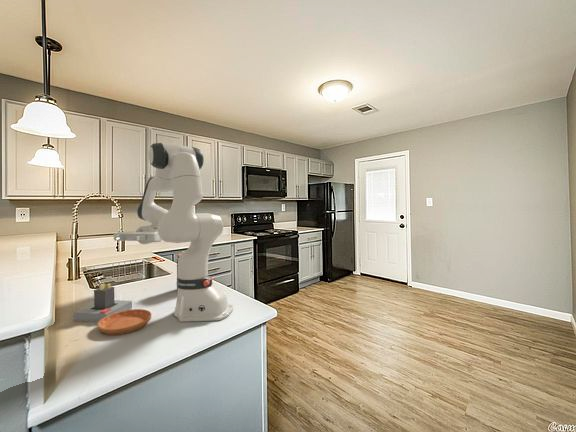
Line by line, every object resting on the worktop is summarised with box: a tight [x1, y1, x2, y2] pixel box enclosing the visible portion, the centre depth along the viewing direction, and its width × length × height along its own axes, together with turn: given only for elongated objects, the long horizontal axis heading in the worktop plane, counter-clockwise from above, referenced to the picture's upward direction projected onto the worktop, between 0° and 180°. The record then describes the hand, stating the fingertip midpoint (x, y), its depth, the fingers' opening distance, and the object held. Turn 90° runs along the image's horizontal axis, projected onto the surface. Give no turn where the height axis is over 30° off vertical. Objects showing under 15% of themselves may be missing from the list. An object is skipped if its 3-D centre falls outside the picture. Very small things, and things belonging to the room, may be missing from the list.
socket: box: [73, 299, 133, 323], centre depth 100 cm, size 13×13×4 cm
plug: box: [93, 283, 115, 310], centre depth 99 cm, size 4×4×12 cm
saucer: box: [96, 308, 152, 336], centre depth 90 cm, size 16×16×3 cm
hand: (125, 238), depth 113 cm, fingers open, 8 cm apart
